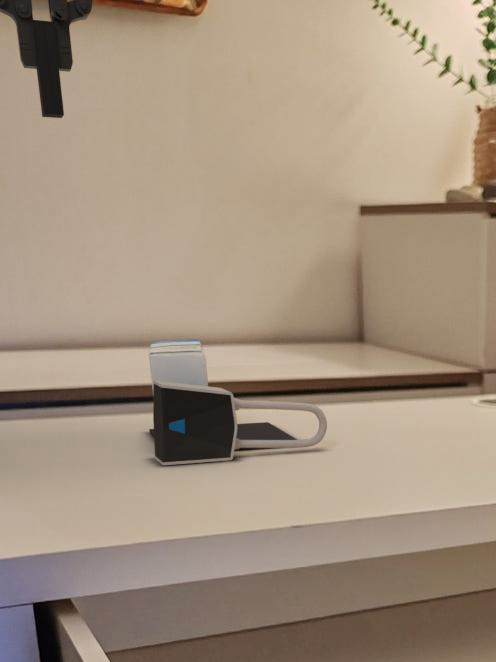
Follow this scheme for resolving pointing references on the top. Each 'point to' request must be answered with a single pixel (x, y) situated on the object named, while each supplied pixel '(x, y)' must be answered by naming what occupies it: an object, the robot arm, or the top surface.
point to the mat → (256, 433)
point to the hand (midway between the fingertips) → (53, 115)
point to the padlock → (211, 423)
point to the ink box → (178, 362)
